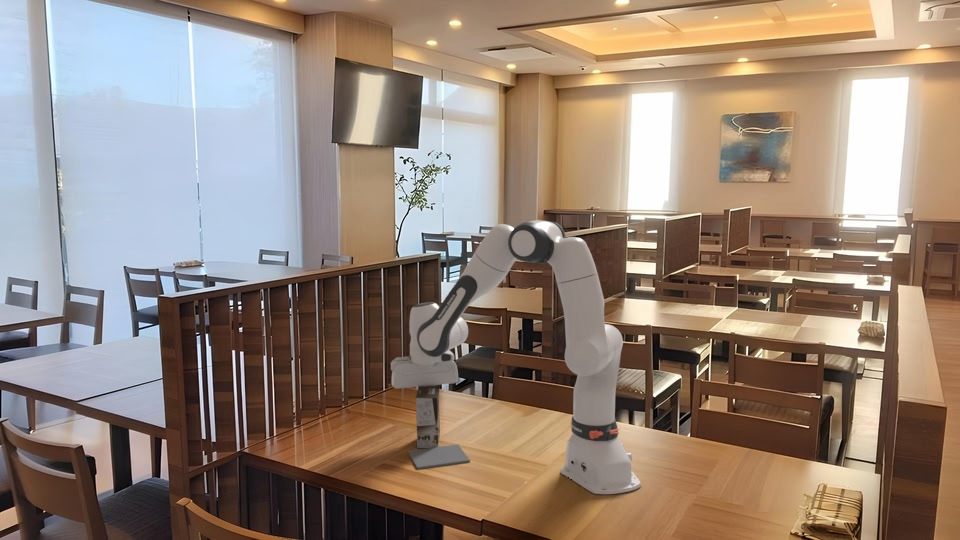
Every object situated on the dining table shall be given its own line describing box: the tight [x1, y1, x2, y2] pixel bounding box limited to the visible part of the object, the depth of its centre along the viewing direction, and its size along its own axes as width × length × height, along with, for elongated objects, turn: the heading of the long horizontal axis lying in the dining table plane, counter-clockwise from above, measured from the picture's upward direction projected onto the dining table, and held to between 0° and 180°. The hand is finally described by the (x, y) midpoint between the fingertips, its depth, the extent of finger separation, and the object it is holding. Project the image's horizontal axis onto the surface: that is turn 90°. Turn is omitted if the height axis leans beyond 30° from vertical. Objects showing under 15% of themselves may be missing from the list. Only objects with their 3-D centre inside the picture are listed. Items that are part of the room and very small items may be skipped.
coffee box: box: [415, 385, 441, 449], centre depth 201 cm, size 9×6×16 cm
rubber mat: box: [408, 443, 471, 470], centre depth 192 cm, size 12×15×1 cm
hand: (425, 399), depth 205 cm, fingers closed
